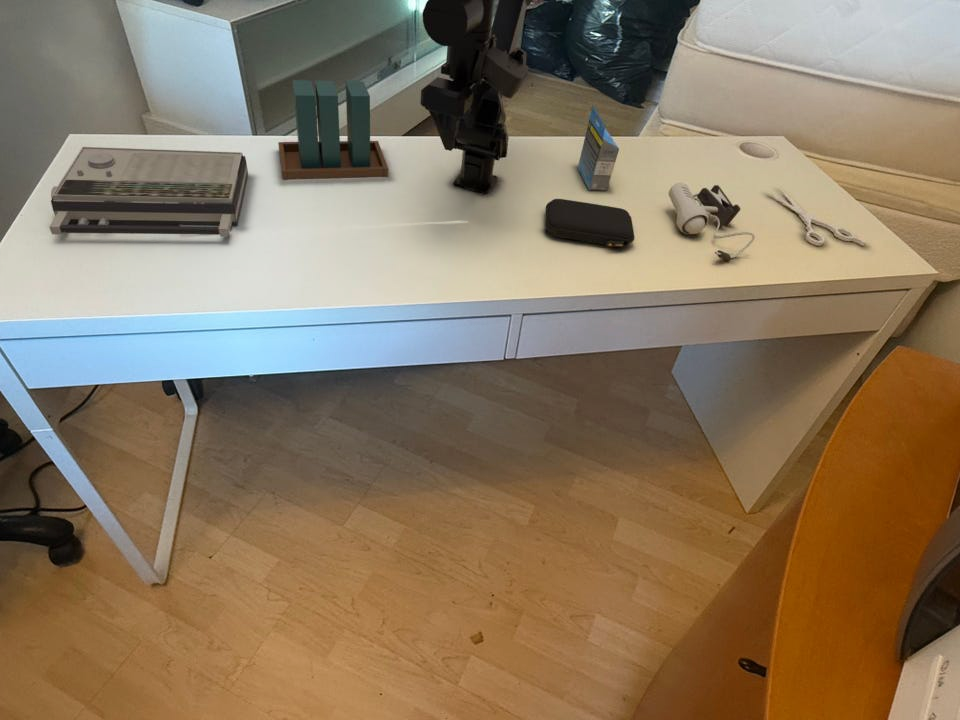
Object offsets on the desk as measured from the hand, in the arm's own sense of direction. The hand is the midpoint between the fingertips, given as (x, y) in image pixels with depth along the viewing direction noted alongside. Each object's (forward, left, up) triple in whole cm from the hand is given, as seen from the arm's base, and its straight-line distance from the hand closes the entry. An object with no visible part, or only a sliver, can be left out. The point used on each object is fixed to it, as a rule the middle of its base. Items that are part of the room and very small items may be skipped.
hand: (459, 138), depth 93 cm
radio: (+21, -40, -13) cm, 47 cm away
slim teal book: (-7, -20, -12) cm, 25 cm away
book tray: (-4, -24, -13) cm, 28 cm away
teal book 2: (-4, -24, -12) cm, 28 cm away
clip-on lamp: (-16, +41, -13) cm, 46 cm away
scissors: (-32, +59, -13) cm, 68 cm away
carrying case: (-6, +22, -13) cm, 26 cm away
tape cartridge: (-25, +19, -13) cm, 34 cm away
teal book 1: (-2, -27, -12) cm, 30 cm away
